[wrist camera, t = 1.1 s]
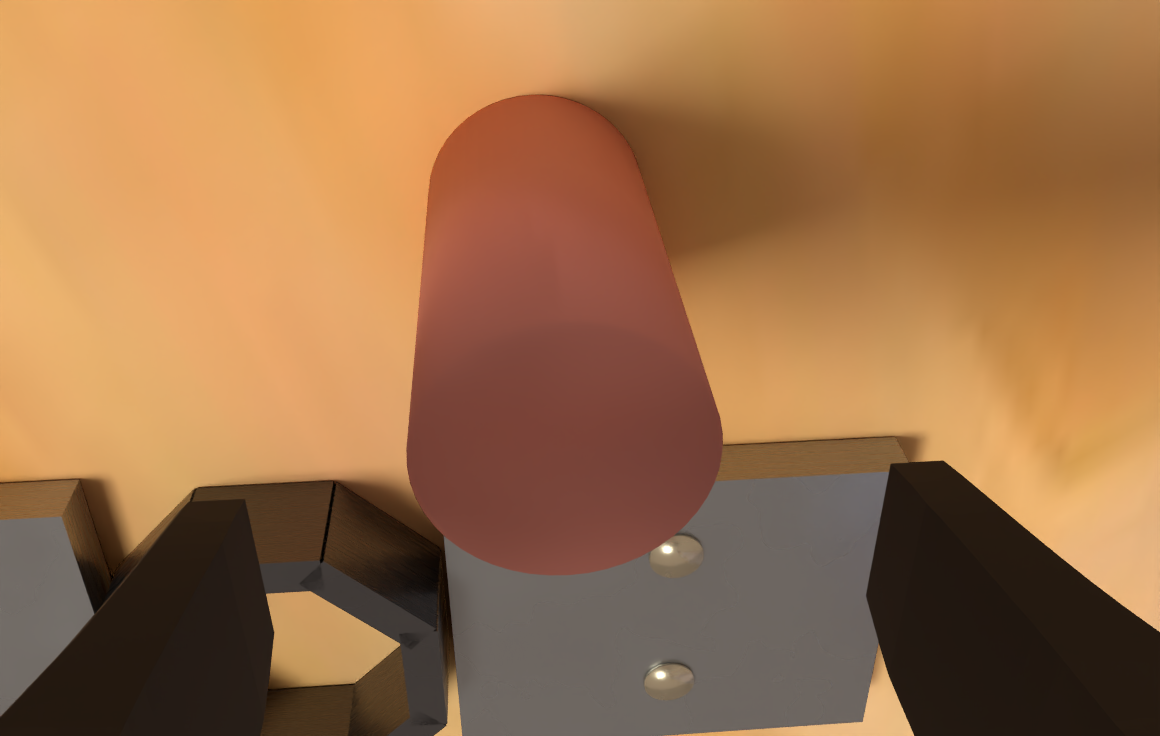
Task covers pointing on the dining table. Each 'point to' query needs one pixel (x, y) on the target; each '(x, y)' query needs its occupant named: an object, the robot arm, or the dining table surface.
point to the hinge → (528, 606)
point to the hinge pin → (553, 350)
